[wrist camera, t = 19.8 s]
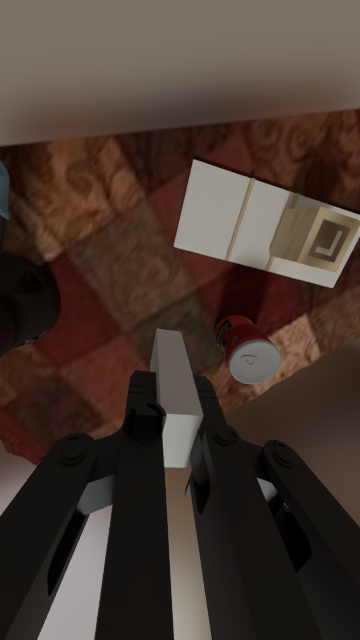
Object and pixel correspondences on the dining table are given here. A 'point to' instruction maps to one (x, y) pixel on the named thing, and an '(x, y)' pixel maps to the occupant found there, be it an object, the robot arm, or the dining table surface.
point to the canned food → (246, 350)
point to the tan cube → (314, 237)
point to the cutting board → (244, 222)
